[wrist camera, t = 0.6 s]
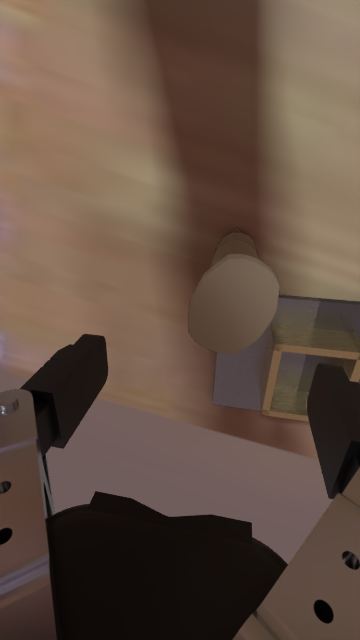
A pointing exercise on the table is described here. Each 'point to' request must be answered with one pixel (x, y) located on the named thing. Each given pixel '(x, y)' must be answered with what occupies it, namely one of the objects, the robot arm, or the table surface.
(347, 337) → the square socket base
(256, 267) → the handle
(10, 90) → the table surface
